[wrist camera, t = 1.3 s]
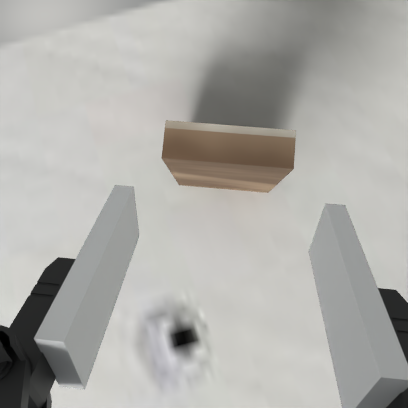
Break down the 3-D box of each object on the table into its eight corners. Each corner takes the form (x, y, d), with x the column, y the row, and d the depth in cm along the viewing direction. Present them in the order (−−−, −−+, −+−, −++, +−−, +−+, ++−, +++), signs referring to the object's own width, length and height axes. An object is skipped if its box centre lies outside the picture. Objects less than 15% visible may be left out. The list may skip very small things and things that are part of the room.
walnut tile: (181, 159, 37) (165, 120, 25) (270, 166, 37) (295, 130, 25) (179, 185, 37) (161, 157, 25) (268, 192, 36) (293, 168, 25)
